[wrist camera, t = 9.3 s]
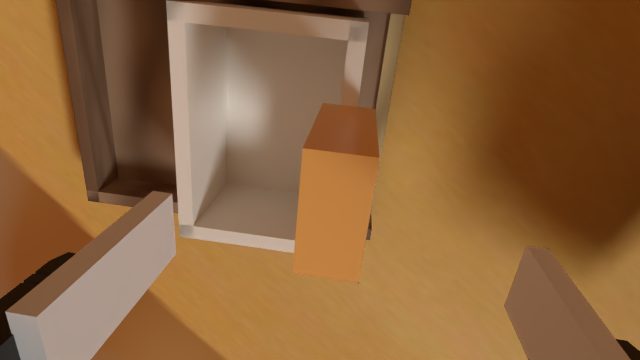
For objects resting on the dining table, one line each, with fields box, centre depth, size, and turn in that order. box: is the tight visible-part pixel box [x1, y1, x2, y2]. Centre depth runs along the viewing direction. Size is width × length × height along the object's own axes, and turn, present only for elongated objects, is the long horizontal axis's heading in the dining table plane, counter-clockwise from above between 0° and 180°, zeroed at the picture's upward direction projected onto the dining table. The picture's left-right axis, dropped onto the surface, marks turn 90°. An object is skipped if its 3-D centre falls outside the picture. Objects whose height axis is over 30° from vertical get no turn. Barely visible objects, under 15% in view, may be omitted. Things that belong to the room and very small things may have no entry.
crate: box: [166, 1, 380, 283], centre depth 24 cm, size 12×15×16 cm
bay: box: [56, 0, 412, 240], centre depth 31 cm, size 24×18×4 cm
